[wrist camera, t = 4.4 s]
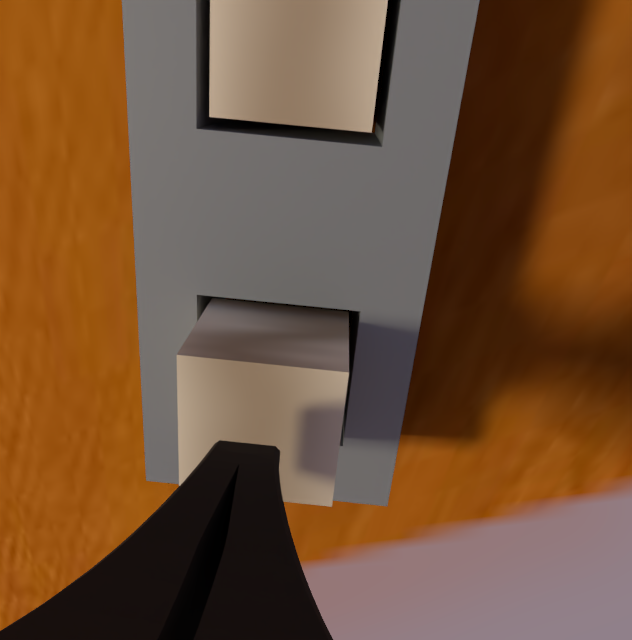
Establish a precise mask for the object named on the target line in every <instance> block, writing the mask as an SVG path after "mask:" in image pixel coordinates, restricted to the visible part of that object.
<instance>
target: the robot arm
mask: <svg viewBox="0 0 632 640" xmlns="http://www.w3.org/2000/svg"><path fill="white" fill-rule="evenodd" d="M279 462H280V450H279V449H278V448H277V447H276V446H270V445H261V444H251V443H241V442H232V441H222V440H219V441H218V442H216V443H215V444H214V445H213V446H212V448H211V449H210V450H209V452H208V453H207V454H206V456H205V457H204V458H203V459H202V461H201V462H200V463H199V464H198V465H197V467H196V468H195V469H194V470H193V471H192V473H191V474H190V475H189V476H188V477H187V478H186V480H185V481H184V482H183V483H182V484H181V485H180V486H179V487H178V488H177V489H176V490H175V491H174V493H173V494H172V495H171V496H170V497H169V498H168V499H167V500H166V501H165V502H164V503H163V504H162V505H161V506H160V507H159V508H158V509H157V510H156V511H155V512H154V513H153V514H152V515H151V516H150V517H149V518H148V519H147V520H146V521H145V522H144V523H143V524H142V525H141V526H140V527H139V528H138V529H137V530H136V531H135V532H134V533H132V534H131V535H130V536H129V537H128V538H127V539H126V540H125V541H124V542H122V543H121V544H120V545H119V546H118V547H117V548H116V549H114V550H113V551H112V552H111V553H110V554H108V555H107V556H106V557H105V558H104V559H102V560H101V561H100V562H99V563H97V564H96V565H95V566H94V567H93V568H91V569H90V570H89V571H87V572H86V573H85V574H83V575H82V576H81V577H79V578H78V579H77V580H75V581H74V582H73V583H71V584H70V585H69V586H67V587H66V588H65V589H63V590H62V591H61V592H59V593H58V594H56V595H55V596H54V597H52V598H51V599H49V600H48V601H46V602H45V603H43V604H42V605H41V606H39V607H38V608H36V609H34V610H33V611H31V612H30V613H28V614H27V615H25V616H23V617H22V618H20V619H19V620H17V621H16V622H14V623H12V624H11V625H9V626H8V627H6V628H5V629H3V630H1V631H0V640H333V639H332V637H331V635H330V633H329V631H328V629H327V627H326V625H325V623H324V621H323V619H322V616H321V614H320V612H319V610H318V607H317V605H316V603H315V600H314V598H313V596H312V593H311V591H310V588H309V586H308V583H307V581H306V578H305V575H304V573H303V570H302V567H301V564H300V561H299V558H298V555H297V552H296V549H295V546H294V542H293V539H292V536H291V532H290V528H289V525H288V520H287V516H286V512H285V507H284V503H283V497H282V492H281V484H280V476H279Z"/></svg>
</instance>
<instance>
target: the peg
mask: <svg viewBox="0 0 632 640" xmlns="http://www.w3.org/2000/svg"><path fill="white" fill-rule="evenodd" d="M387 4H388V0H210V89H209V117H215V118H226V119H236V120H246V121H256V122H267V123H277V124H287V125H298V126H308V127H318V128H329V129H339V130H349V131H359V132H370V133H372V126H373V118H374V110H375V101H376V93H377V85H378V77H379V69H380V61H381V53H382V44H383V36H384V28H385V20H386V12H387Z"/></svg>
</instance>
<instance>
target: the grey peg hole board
mask: <svg viewBox="0 0 632 640" xmlns="http://www.w3.org/2000/svg"><path fill="white" fill-rule="evenodd" d="M479 1H480V0H391V8H390V16H389V24H388V32H387V40H386V48H385V56H384V64H383V72H382V80H381V88H380V96H379V104H378V112H377V120H376V128H375V133H369V132H359V131H348V130H338V129H328V128H317V127H307V126H297V125H287V124H276V123H266V122H256V121H245V120H235V119H226V118H215V117H209V89H210V0H122V11H123V31H124V51H125V70H126V90H127V110H128V130H129V150H130V169H131V189H132V209H133V229H134V248H135V268H136V288H137V308H138V328H139V347H140V367H141V387H142V407H143V427H144V446H145V466H146V481H155V482H164V483H174V484H179V455H178V404H177V353H178V352H179V350H180V348H181V347H182V345H183V344H184V342H185V341H186V339H187V337H188V336H189V334H190V333H191V331H192V329H193V328H194V326H195V325H196V323H197V321H198V320H199V318H200V317H201V315H202V313H203V312H204V310H205V309H206V307H207V305H208V304H209V302H210V301H211V299H212V298H218V299H225V298H234V299H244V300H253V301H263V302H273V303H283V304H293V305H303V306H312V307H322V308H332V309H342V310H352V311H353V312H352V320H351V328H350V336H349V377H348V385H347V392H346V400H345V408H344V416H343V424H342V431H341V439H340V447H339V455H338V462H337V470H336V478H335V486H334V493H333V500H334V501H343V502H352V503H362V504H371V505H381V506H387V505H388V499H389V494H390V488H391V483H392V477H393V472H394V466H395V461H396V455H397V450H398V444H399V439H400V433H401V428H402V423H403V417H404V412H405V406H406V401H407V395H408V390H409V384H410V379H411V373H412V368H413V362H414V357H415V351H416V346H417V340H418V335H419V329H420V324H421V318H422V313H423V308H424V302H425V297H426V291H427V286H428V280H429V275H430V269H431V264H432V258H433V253H434V247H435V242H436V236H437V231H438V225H439V220H440V214H441V209H442V203H443V198H444V192H445V187H446V182H447V176H448V171H449V165H450V160H451V154H452V149H453V143H454V138H455V132H456V127H457V121H458V116H459V110H460V105H461V99H462V94H463V88H464V83H465V77H466V72H467V66H468V61H469V56H470V50H471V45H472V39H473V34H474V28H475V23H476V17H477V12H478V6H479Z"/></svg>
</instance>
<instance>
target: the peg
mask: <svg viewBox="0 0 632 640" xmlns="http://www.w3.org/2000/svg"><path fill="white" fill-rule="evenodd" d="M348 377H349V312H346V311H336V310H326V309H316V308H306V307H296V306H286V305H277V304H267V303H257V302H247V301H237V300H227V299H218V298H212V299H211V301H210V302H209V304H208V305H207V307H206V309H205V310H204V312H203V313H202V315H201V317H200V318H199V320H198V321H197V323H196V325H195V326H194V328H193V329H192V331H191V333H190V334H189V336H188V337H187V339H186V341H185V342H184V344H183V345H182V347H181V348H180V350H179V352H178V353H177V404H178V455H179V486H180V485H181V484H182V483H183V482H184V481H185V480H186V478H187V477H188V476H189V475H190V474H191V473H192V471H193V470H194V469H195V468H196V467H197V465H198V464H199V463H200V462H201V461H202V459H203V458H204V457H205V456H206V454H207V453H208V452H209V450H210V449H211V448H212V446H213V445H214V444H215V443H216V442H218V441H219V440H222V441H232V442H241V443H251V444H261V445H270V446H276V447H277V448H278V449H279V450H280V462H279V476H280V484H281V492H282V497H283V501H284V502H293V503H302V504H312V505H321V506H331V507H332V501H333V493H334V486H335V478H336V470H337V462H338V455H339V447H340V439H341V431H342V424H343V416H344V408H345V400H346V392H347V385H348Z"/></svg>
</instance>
